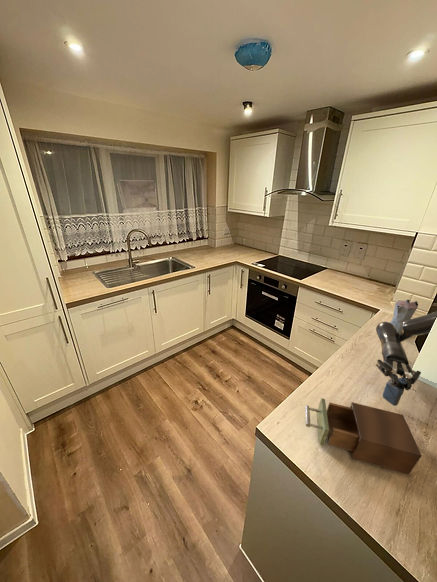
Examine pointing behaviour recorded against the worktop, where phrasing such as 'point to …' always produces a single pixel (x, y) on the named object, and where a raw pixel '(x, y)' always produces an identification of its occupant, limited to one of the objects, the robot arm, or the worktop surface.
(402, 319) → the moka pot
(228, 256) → the worktop surface
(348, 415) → the drawer
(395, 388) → the vaping device
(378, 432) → the cabinet
